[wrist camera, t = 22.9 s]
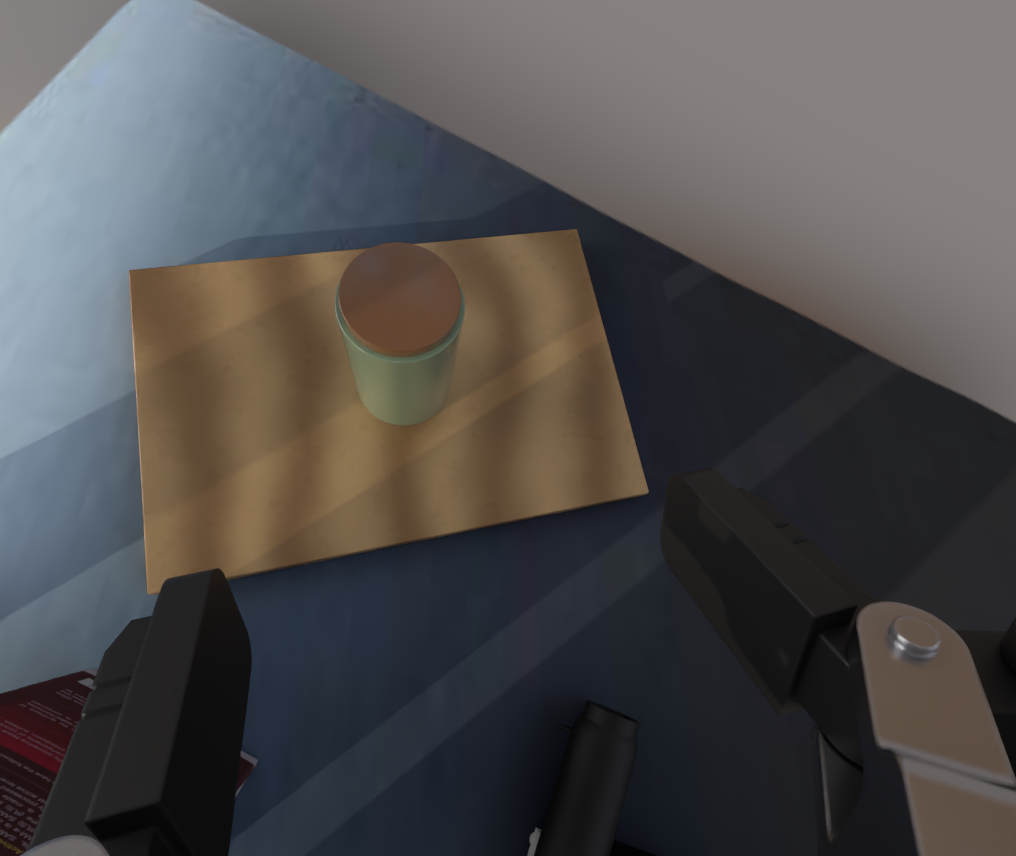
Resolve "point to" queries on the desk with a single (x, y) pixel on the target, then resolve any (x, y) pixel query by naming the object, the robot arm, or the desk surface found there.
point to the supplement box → (43, 751)
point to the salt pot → (400, 330)
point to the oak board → (365, 411)
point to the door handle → (590, 788)
